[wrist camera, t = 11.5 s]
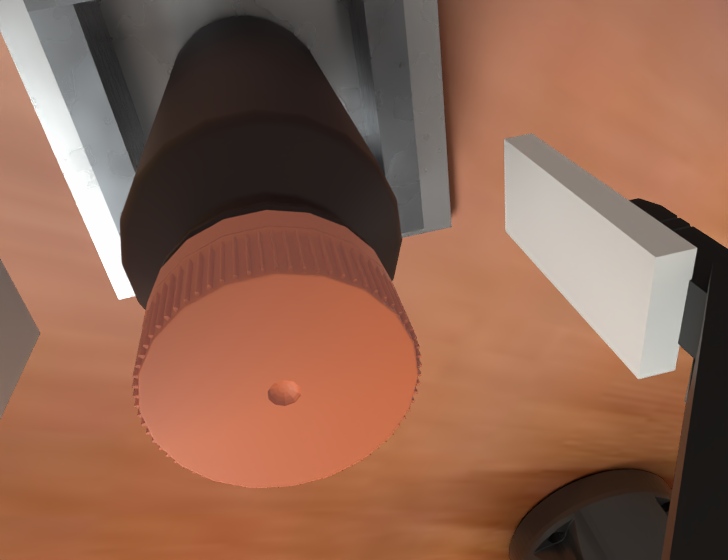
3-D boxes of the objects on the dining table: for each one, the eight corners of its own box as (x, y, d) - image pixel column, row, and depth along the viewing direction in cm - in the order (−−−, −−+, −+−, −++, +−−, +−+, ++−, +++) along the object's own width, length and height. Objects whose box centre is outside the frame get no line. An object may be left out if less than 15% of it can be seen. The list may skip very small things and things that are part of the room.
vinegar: (218, -22, 24) (200, 119, 8) (351, 74, 27) (550, 327, 11) (142, 117, 26) (-4, 464, 10) (273, 192, 29) (333, 555, 13)
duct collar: (447, 220, 33) (477, 262, 29) (120, 291, 32) (105, 346, 28) (419, -184, 23) (459, -204, 19) (-54, -112, 22) (-117, -118, 18)
